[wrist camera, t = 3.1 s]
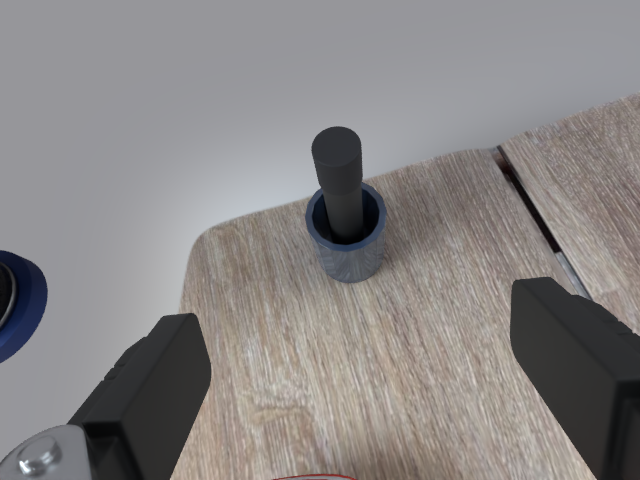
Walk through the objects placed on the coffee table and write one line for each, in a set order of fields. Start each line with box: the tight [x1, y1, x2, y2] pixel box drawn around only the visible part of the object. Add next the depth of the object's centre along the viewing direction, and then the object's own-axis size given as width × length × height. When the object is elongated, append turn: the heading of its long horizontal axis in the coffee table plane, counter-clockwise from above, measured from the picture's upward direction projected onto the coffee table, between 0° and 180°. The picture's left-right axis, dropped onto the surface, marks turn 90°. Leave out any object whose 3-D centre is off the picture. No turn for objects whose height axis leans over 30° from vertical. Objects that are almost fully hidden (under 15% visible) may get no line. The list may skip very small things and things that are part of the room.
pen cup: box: [305, 182, 387, 283], centre depth 30 cm, size 6×6×7 cm
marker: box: [312, 127, 364, 245], centre depth 27 cm, size 3×3×14 cm
